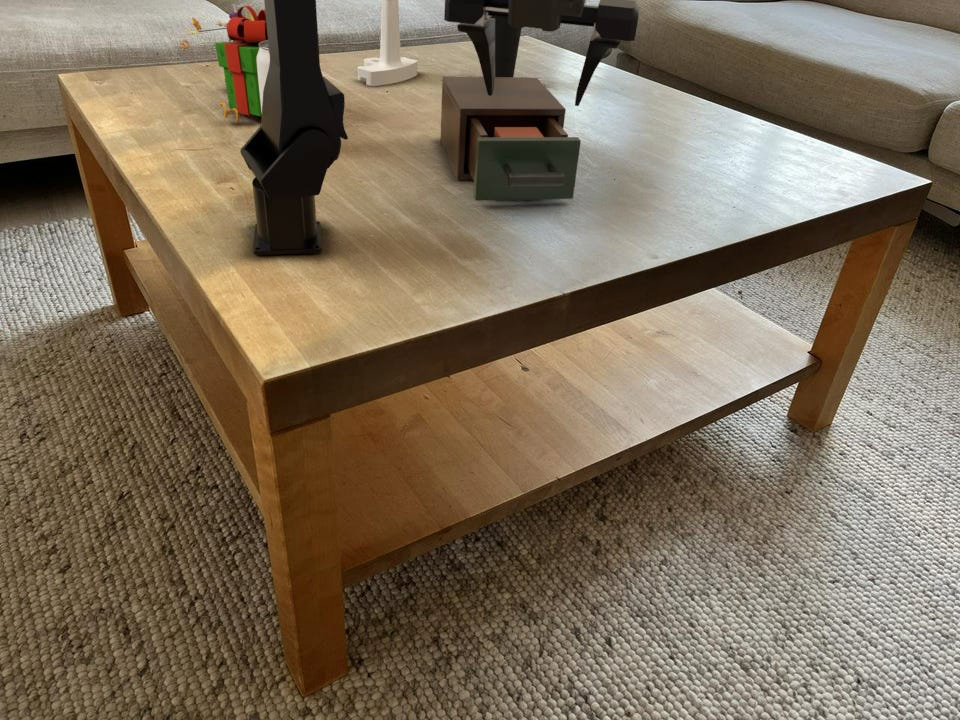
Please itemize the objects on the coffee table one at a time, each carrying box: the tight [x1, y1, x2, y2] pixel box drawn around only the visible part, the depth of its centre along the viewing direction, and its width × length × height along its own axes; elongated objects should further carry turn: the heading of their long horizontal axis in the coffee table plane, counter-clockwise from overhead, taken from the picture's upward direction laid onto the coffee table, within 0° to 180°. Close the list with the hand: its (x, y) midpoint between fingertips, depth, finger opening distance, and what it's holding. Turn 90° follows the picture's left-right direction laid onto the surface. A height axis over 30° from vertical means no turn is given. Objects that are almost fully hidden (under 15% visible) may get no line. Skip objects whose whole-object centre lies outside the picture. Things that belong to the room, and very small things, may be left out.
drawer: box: [465, 115, 582, 201], centre depth 88 cm, size 17×11×7 cm
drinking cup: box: [490, 16, 523, 77], centre depth 123 cm, size 8×8×20 cm
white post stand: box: [357, 0, 418, 87], centre depth 122 cm, size 11×8×20 cm
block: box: [494, 127, 544, 137], centre depth 88 cm, size 5×5×5 cm
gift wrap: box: [179, 5, 268, 124], centre depth 103 cm, size 20×19×14 cm
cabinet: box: [440, 76, 567, 181], centre depth 96 cm, size 14×13×9 cm
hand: (533, 99), depth 80 cm, fingers open, 9 cm apart
